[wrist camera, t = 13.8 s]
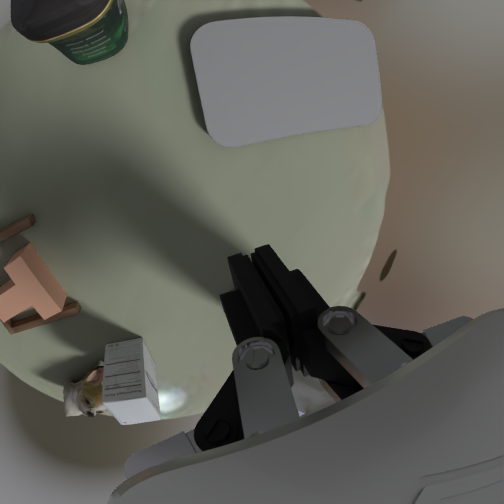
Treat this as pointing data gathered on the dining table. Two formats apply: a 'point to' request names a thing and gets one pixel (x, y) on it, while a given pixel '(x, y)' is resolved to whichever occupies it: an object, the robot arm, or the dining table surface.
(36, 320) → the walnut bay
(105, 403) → the supplement box
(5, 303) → the t block
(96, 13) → the coffee jar
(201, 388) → the dining table surface
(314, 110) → the tablet
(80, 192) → the dining table surface
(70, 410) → the ceramic sculpture
